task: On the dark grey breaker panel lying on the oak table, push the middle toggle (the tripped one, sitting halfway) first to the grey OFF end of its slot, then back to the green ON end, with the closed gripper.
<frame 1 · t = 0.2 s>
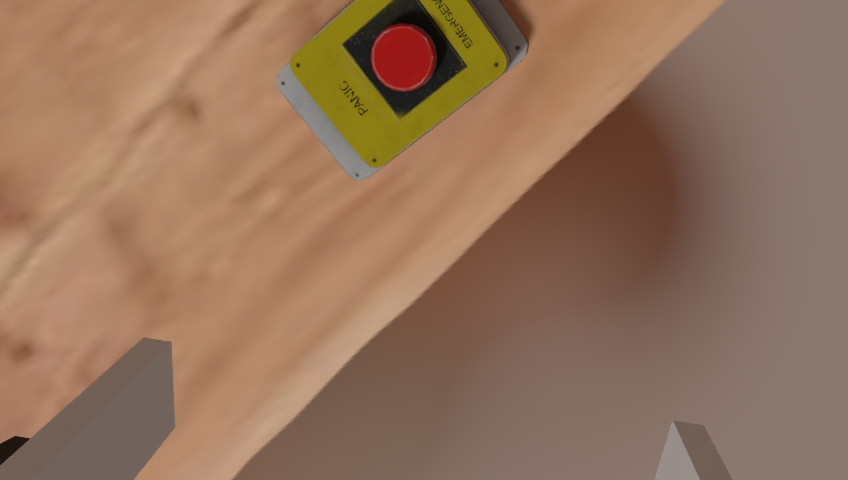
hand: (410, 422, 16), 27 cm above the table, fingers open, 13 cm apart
emergency button: (400, 64, 40), on the table
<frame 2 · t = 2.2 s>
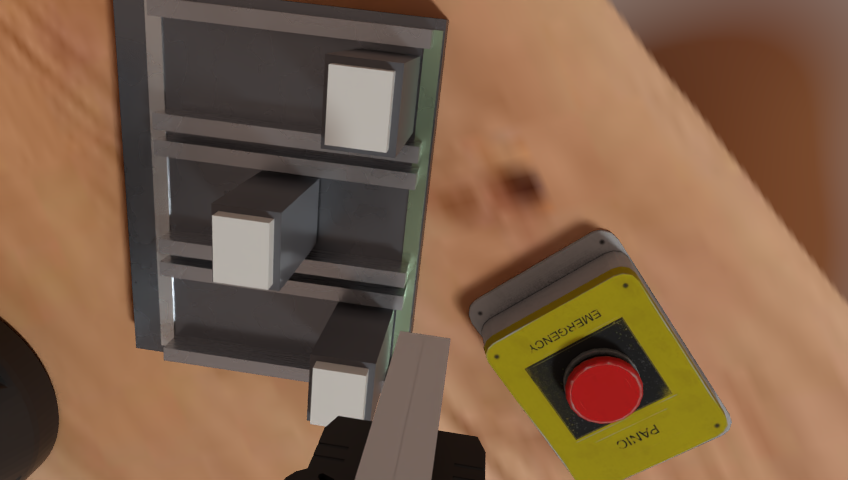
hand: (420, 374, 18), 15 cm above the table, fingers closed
emergency button: (598, 361, 35), on the table
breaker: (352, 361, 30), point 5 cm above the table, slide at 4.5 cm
panel: (281, 196, 33), on the table
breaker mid: (267, 228, 28), point 5 cm above the table, slide at 0.0 cm
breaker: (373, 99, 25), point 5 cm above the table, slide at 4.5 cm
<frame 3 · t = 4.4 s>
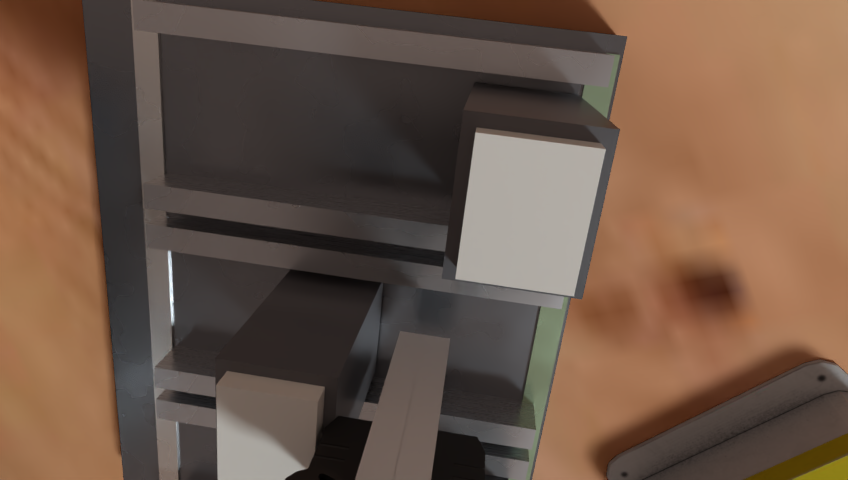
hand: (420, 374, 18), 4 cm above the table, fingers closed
panel: (337, 295, 22), on the table
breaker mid: (307, 371, 17), point 5 cm above the table, slide at -0.6 cm, touching gripper
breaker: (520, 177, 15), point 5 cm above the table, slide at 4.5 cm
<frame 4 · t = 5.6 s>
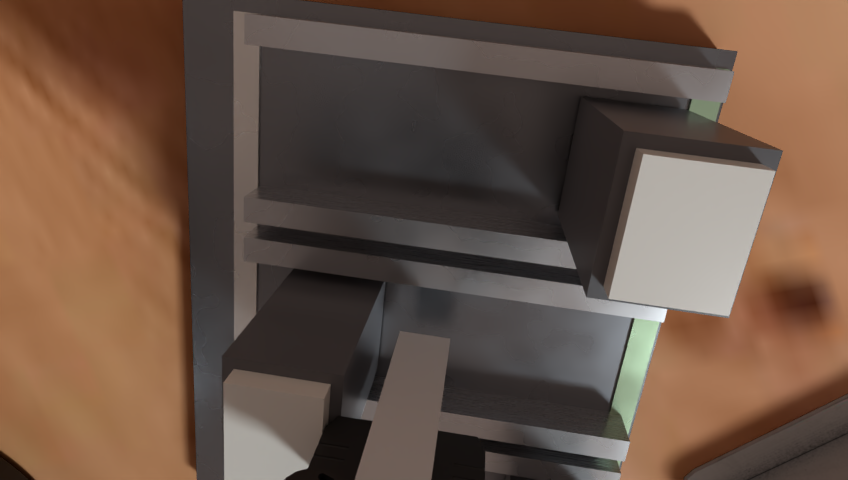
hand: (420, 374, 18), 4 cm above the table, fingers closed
panel: (420, 306, 22), on the table
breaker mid: (311, 369, 17), point 5 cm above the table, slide at -3.6 cm, touching gripper
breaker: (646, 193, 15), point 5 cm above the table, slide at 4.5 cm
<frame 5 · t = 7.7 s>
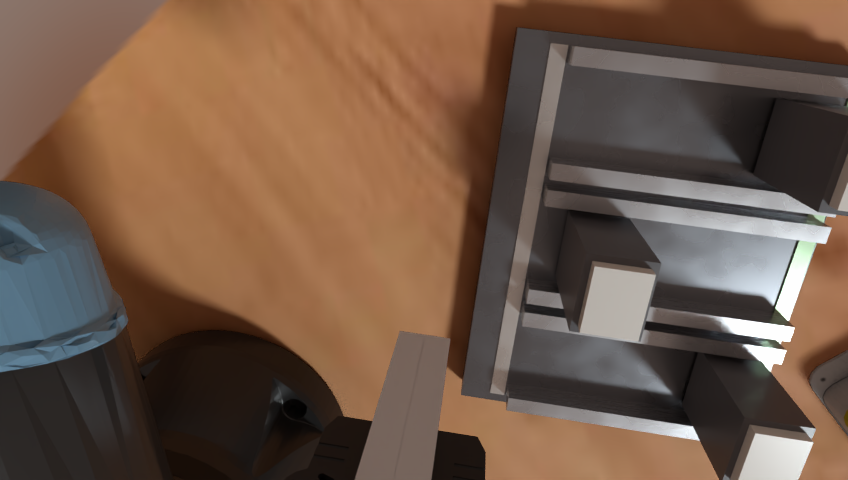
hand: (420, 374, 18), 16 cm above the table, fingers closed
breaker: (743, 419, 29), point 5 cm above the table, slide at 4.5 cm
panel: (636, 243, 32), on the table
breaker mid: (602, 272, 27), point 5 cm above the table, slide at -3.6 cm
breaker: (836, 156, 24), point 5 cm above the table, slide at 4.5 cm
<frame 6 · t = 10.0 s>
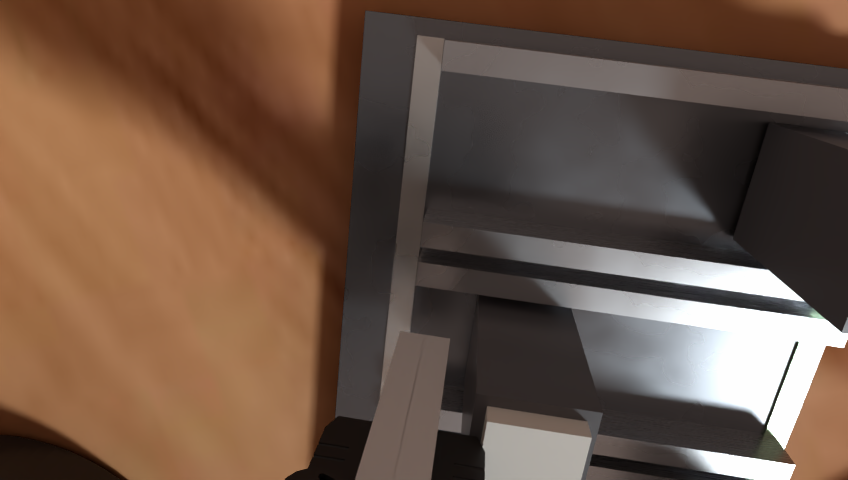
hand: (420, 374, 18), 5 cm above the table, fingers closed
panel: (566, 328, 22), on the table
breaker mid: (520, 399, 17), point 5 cm above the table, slide at -3.0 cm, touching gripper
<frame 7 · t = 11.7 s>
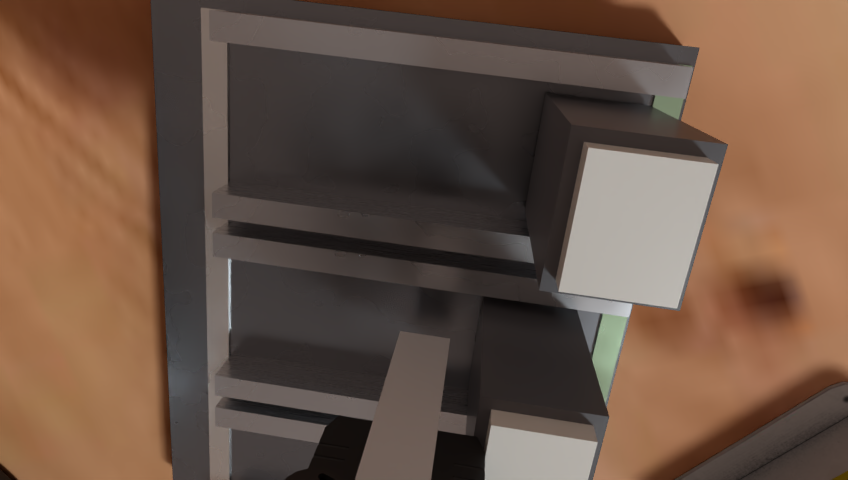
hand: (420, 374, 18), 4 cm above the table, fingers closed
panel: (392, 303, 22), on the table
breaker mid: (525, 402, 17), point 5 cm above the table, slide at 3.6 cm, touching gripper
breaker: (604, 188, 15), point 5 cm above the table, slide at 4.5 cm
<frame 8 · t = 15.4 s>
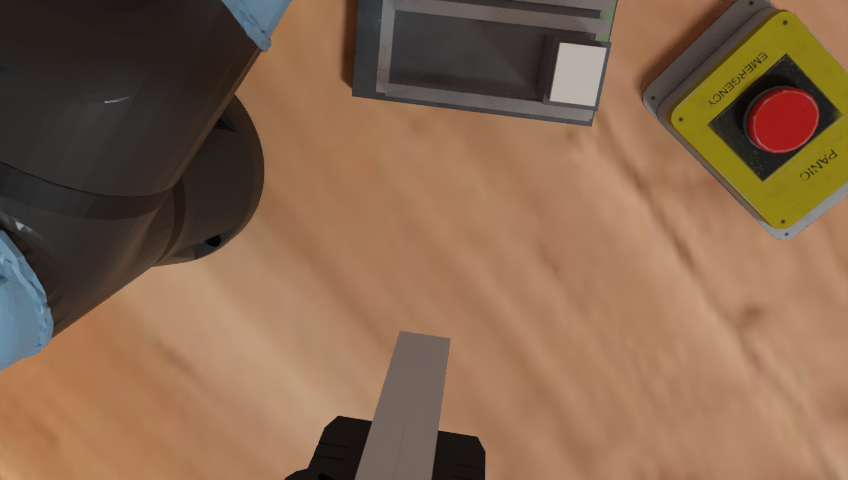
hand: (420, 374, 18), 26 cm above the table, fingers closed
emergency button: (763, 122, 40), on the table
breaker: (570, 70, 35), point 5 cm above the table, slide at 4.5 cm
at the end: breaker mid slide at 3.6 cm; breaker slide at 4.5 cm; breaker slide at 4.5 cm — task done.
